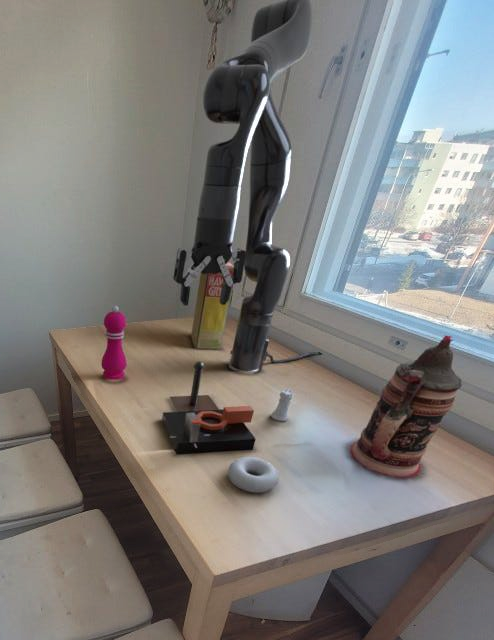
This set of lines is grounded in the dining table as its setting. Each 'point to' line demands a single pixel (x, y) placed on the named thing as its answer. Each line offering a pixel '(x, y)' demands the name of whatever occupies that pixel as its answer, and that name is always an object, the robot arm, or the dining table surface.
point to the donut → (250, 482)
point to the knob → (191, 427)
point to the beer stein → (408, 413)
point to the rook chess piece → (283, 406)
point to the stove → (207, 436)
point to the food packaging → (210, 312)
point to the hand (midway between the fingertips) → (203, 304)
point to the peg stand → (194, 395)
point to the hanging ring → (227, 417)
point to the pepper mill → (114, 345)
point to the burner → (213, 421)
